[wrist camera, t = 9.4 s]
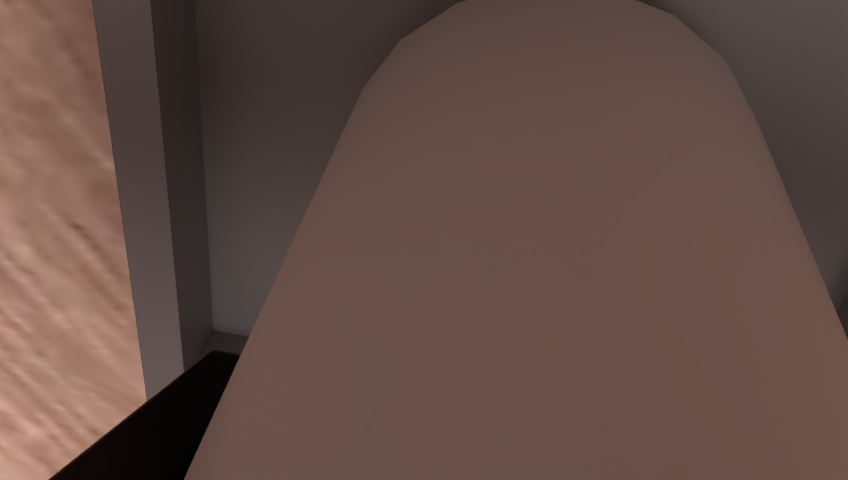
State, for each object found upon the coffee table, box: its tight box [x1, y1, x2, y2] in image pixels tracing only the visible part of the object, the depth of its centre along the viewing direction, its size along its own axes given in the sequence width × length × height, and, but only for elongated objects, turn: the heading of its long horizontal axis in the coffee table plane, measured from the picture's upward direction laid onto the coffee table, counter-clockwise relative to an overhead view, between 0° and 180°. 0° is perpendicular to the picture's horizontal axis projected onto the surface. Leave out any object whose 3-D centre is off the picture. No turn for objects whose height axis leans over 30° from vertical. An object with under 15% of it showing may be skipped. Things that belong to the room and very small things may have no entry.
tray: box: [92, 0, 848, 401], centre depth 15 cm, size 16×16×2 cm
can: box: [184, 0, 848, 480], centre depth 11 cm, size 8×8×12 cm
